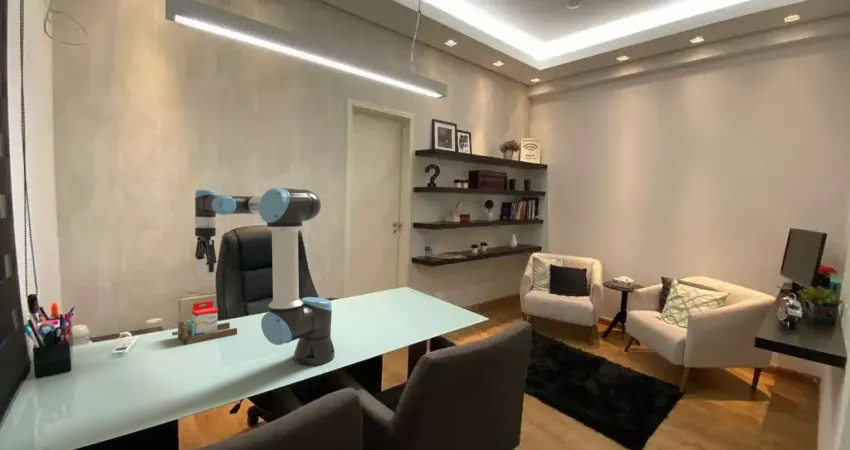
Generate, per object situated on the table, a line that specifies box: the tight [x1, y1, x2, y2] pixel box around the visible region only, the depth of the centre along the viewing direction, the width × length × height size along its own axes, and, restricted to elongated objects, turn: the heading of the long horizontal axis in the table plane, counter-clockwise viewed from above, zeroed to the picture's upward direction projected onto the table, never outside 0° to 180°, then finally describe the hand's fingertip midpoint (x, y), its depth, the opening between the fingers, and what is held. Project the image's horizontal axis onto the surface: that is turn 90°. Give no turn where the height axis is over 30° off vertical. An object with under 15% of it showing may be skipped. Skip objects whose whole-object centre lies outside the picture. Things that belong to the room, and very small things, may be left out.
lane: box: [177, 320, 238, 346], centre depth 164 cm, size 10×20×7 cm, turn 135°
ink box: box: [191, 300, 218, 336], centre depth 162 cm, size 8×5×15 cm, turn 140°
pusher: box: [171, 319, 195, 337], centre depth 157 cm, size 7×7×7 cm
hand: (205, 277), depth 161 cm, fingers open, 13 cm apart
